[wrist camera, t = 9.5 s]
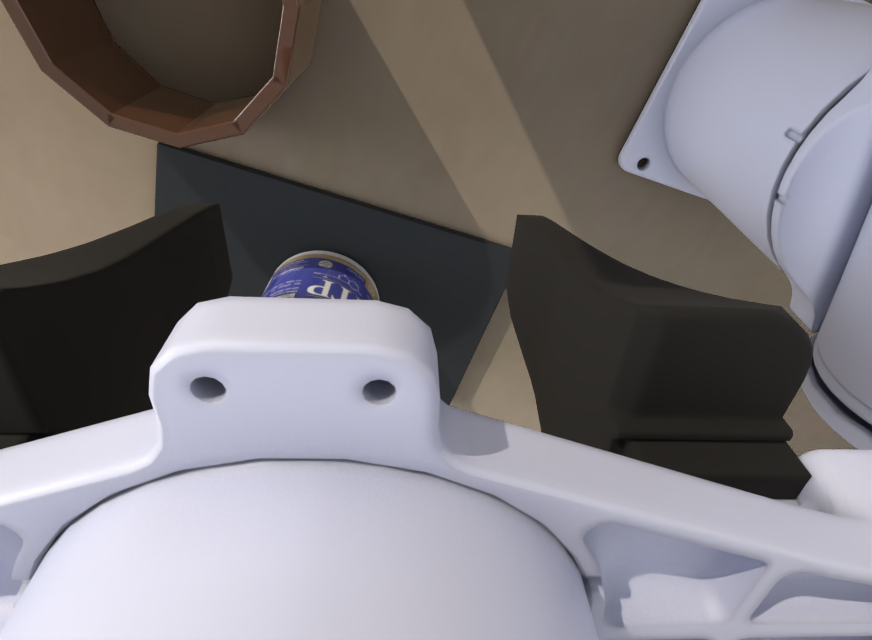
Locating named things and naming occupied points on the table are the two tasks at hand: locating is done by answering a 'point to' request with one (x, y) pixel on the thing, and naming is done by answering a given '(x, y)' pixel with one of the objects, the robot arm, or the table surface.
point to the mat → (346, 247)
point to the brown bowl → (134, 88)
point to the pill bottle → (321, 278)
